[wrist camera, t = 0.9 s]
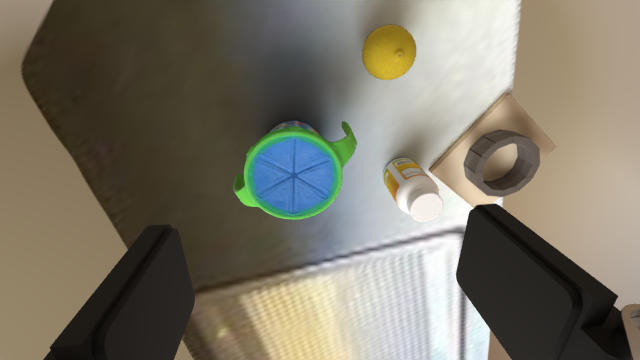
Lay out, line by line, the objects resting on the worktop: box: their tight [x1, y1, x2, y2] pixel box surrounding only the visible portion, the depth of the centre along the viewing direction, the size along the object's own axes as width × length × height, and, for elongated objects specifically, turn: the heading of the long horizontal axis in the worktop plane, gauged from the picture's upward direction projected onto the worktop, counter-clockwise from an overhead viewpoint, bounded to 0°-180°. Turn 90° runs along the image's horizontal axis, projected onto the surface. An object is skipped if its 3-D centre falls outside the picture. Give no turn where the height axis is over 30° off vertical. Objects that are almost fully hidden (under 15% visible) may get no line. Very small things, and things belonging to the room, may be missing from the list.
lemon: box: [362, 25, 416, 80], centre depth 32 cm, size 6×6×8 cm
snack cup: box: [233, 120, 357, 219], centre depth 36 cm, size 16×10×10 cm
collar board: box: [429, 93, 556, 208], centre depth 42 cm, size 14×12×4 cm
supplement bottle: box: [383, 158, 443, 222], centre depth 39 cm, size 5×5×10 cm
